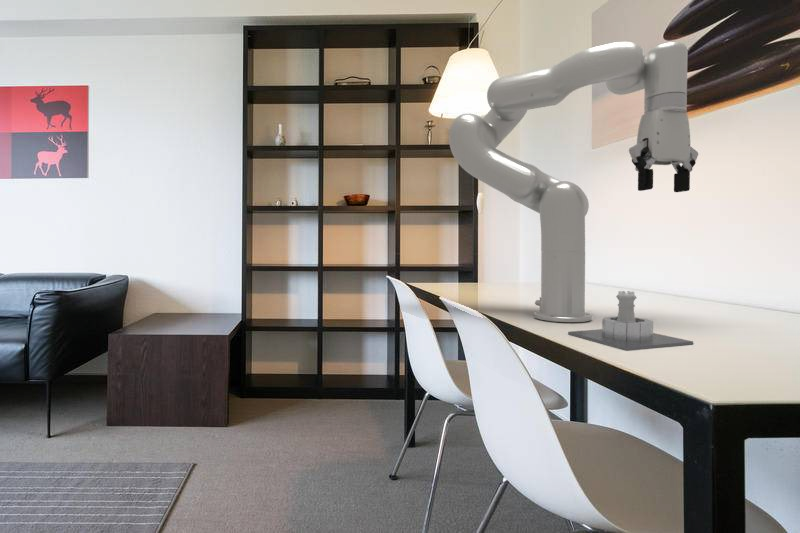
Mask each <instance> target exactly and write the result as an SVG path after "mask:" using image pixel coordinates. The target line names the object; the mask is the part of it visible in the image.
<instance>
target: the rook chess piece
mask: <svg viewBox="0 0 800 533" xmlns="http://www.w3.org/2000/svg"><path fill="white" fill-rule="evenodd" d="M615 297H616V299H617V301H618V304H617V306H618V313H617V316H618V318H617V321H622V322H636V321H635V317H636V316H635V311H634V309H635V307H636V305H635V304H634V302H635V300H636V299H637V296H636V294H635V291H630V290H628V291H625V290H619V291H618V294H617V295H616V296H615Z"/></svg>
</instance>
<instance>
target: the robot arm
mask: <svg viewBox="0 0 800 533" xmlns="http://www.w3.org/2000/svg"><path fill="white" fill-rule="evenodd" d="M688 55H689V54H688V47H687V45H686V44H684V43H683V42H680V41H671V42H670V41H669V42H666V43H661V44H659V45H655V46H654V47H652V48H651V49H650V50H648V52H647V53H646V55H645V52H644V50H643V48H642V47H641V46H640V45H639V44H637V43H635V42H633V41H617V42H611V43H610V42H609V43H606V44H602V45H598V46H594V47H589V48H585V49H584V50H581V51H579V52H576V53H575V54H573V55H571V56H569V57H567V58H565V59H563V60H561V61H559V63H557V64H554V65H552V66H546V67H543V68H538V69H533V70H530V71H529V70H528V71H524V72H519V73H515V74H514V73H513V74H511V75H505V76H502V77H498V78H497V79H495V80H494V81H492V82H491V83H490V85H489V87H488V89H487V92H486V98H487V103H488V106H489V107H490V110H489V111H488V112H487V113H486V115H484V117H482V116H480V115H477V114H473V113H462V114H460V115H458V116H456V118H454V119H453V121H452V122H451V124H450V128H449V131H448V142H449V148H450V150H451V153H452V154H451V155H452V156H453V158H454V159H455V161H456V162H457V164H458V165H459V166H460V167H461V168H462V169H463V170H464V171H465V172H467V174H469V175H470V176H472V177H474V178H475V179H477V180H479V181H481V182H482V183H483V184H486V185H488V187H491V188H492V189H495V190H497V191H498V192H500V193H501V194H504V195H505V196H507V197H508V198H509V199H511V200H512V201H514V202H516V203H518V204H520V205H523V206H524V207H526V208H529V209H530V210H533V211H534V212H535V213H537V214H539V217H540V218H539V220H540V221H539V223H540V234H541V236H540V238H541V239H540V240H541V242H540V244H541V246H540V251H541V253H540V254H541V256H540V258H541V260H540V261H541V264H540V269H541V274H540V275H541V276H540V277H541V278H540V287H541V288H540V292H541V293H540V296H539V299H536V300H535V301H534V304H535V306H539V310H537V311H534V313H533V315H534V316H533V317H534V318H535V319H538V320H541V321H547V322H553V323H554V322H557V323H585V322H590V321H592V320H593V315H592V314H591V313H589V312H586V311H585V310H586V309H585V308H586V307H585V306H586V305H585V304H586V300H585V299H586V298H585V297H586V283H585V282H586V215H587V214H588V211H589V208H590V206H589V199H588V197H587V195H586V193H585V192H584V190H583V189H582V188H581V187H580V186H579V185H577V184H576V183H574V182H571V181H566V180H563V181H562V180H560V179H558V178H555V177H554V176H552V175H549V174H547V173H545V172H543V171H542V170H540V169H539V168H538V167H537V166H535V165H533V164H531V163H530V164H529V163H526V162H524V161H522V160H519V159H517V158H515V157H512V156H511V155H509V154H506V153H505V152H503V151H501V150H499V149H497V147H498V146H499V145H500V144H501V143H502V142H503V141H504V140H505V139H506V138H507V137H508V136H509V134H511V133H512V131H513V130H514V129H515V128H516V127H517V125H518V124H519V123H520V122H521V121H522V120H523V118H524V117H525V115H526V114H527V113H528V111H529V110H530V111H531V110H535V109H541V108H546V107H551V106H556V105H558V104H560V103H561V102H562V101H564V100H565V99H566V98H567V96H569V95H570V94H571V93H573V92H574V91H577V90H578V89H581V88H584V87H587V86H589V85H595V84H600V83H605V84H606V87H607V89H608V91H610V93H612V94H614V95H619V96H620V95H628V94H629V95H630V94H633V93H635V92H638V91H641V90H644V100H643V101H644V105H643V106H644V110H643V111H644V113H643V114H642V115H641V117H640V121H639V124H638V129H637V130H638V131H637V135H636V137H637V138H636V144H635V145H633V146H631V147H629V149H628V153H629V155H630V158H631V162H632V164H633V165H634V167H635V168H634V170H635V171H636V172H637V191H639V192H644V191H648V190H652V189H653V188H654V169H653V168H651V167H652V166H653V165H655V166H670V165H672V167H673V168H674V170H675V173H674V175H673V192H674V193H681V192H683V193H684V192H688V191H690V188H691V186H690V185H691V184H690V183H691V182H690V181H691V172H692V171H693V169H694V166H695V165H696V161H697V159H698V156H699V152H698V150H696V149H695V148H694V147H692V146H691V132H690V131H691V130H690V121H689V115H688V113H687V108H688V104H687V103H688V102H687V100H688V97H687V96H688V58H689V56H688Z"/></svg>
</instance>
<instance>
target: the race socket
mask: <svg viewBox="0 0 800 533" xmlns="http://www.w3.org/2000/svg"><path fill="white" fill-rule="evenodd" d="M634 317H635V321H636V322H622V321H617V318H618V315H614V316H613V315H611V316H604V317H602V320H601V326H602V327H601V328H599V329H588V330H587V329H586V330H576V331H575V330H574V331H571V330H570V331H568V332H567V335H570V336H573V337H577V338H579V339H580V338H581V339H583V340H586V341H587V340H588V341H590V342H594V343H597V344H602V345H606V346H609V347H612V348H616V349H619V350H623V351H636V350H648V349H657V348H667V347H670V348H671V347H678V346H679V347H680V346H689V345H690V346H691V345H694V341H692V340H687V339H684V338H678V337H673V336H670V335H664V334H660V333H656V332H654V321H653V320H651V319H650V318H643V317H638V316H637V317H636V316H634Z"/></svg>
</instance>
